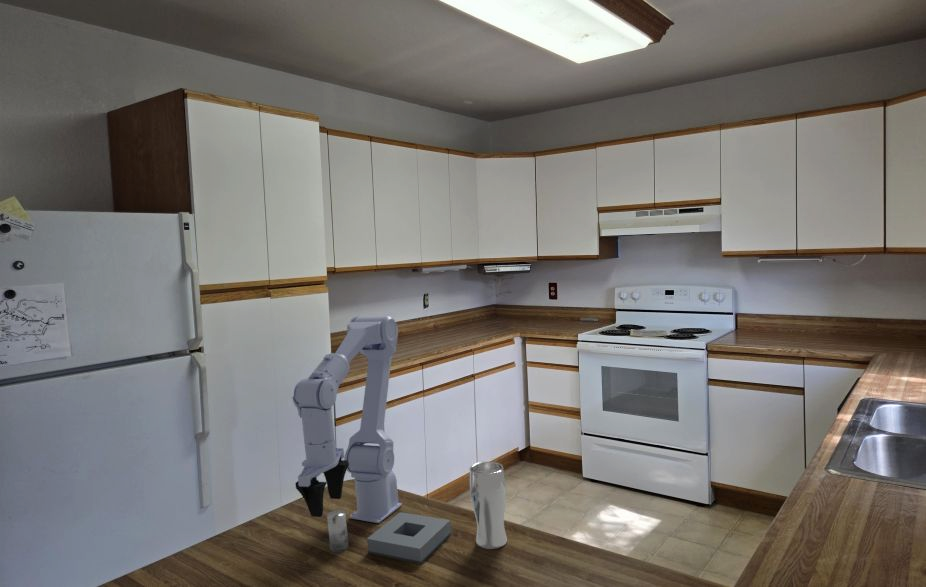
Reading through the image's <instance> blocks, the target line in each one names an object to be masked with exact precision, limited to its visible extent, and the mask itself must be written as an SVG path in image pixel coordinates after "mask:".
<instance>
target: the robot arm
mask: <svg viewBox="0 0 926 587" xmlns="http://www.w3.org/2000/svg"><path fill="white" fill-rule="evenodd" d="M346 326H347V327H346V335H345V337H344V338H343V340H342V342H341V343H340V344H339V346H338V348H337V350H336V351H335V353H334V352H332V353H328V354H327V353H326V354H325V355H324V357H323V359H322V360H321V362H319V364H318V365H317V366H316V368H315V369H314V370H313V371H312V372H311V374H310V375H309V376H308V377H307V378H302V379H301V380H300V381H298V382H297V384H296V385H295V387H294V390H293V396H292V397H291V398H292V402H293V405H294V406H295V407H296V409H297V413H298V417H300V418H301V423H302V424H301V425H302V431H303V440H304V441H303V442H304V449H305V450H304V451H305V452H304V453H305V459H304V460H303V461H302V462H301V466H302V467H303V468H302V471H301V473H299V475H298V476H297V481H296V482H295V489H296V490H297V491H298V492H299V494H300V495H301V496H302V498H303V499H304V503H305V505H306V506H307V508H308V511H309V513H310V516H311V517H315V518H322V516H323V514H324V495H325V494H324V492H325V488H326V487H327V491H328V496H329V499H332V500H340V499H342V494H343V487H344V481H345V480H344V479H345V476H346V473H347V472H348V473H350V477H351V478H352V479H354V486H355V487H354V488H355V497H356V498H355V499H356V509H357V510H356V511H355V512H353V513H351V514H350V515H349V519H353V520H358V521H364V522H368V523H369V522H370V523H374V524H380V523H382V522H383V521H384V520H385V519H386V518H387V517H389V516H390V515H392V514H393V513H394V512H395V511H397V510H398V509H399V508H401V507H402V502H399V494H398V493H399V492H398V483H397V482H398V481H397V476H396V475H395V473H394V471H393V468H394V464H395V454H394V441H393V439H391V437H390V436H389V435H388V434H387V433H385V431H384V427H385V418H386V410H387V409H386V408H387V399H388V393H389V385H390V384H389V381H390V376H391V374H390V372H391V366H392V357H393V356H394V355H396V352H397V345H398V337H399V335H398V334H399V329H398V328H399V327H398V325H397V323H396V321H395V319H394V317H392V316H391V315H386V316H362V317H361V316H353V317H352V318H351V319H350V321H349V323H347V325H346ZM359 353H360V354H361V355H363V356H365V357H366V358H367V360H368V361H367V362H368V363H367V369H366V370H367V371H366V378H365V379H366V380H365V388H364V395H363V404H362V410H361V411H362V412H361V413H362V414H361V420H360V427H359V430H358V431H357V432H355V433H354V434H353V435H352V436H351V437H349V439H348V440H349V442H348V445H347V447H346V448H347V449H346V451H344V447H343V448H341V447H338V448H337V447H336V441H335V440H336V438H335V430H334V429H335V428H334V421H333V420H334V419H333V410H332V407H333V406H334V405H335V403H336V400H337V395H338V393H339V390H340V389H339V386H340V385H341V383H342V382H343V381H344V380H345V379H346V377H347V375H348V374H349V373H350V371H351V366H350V363H351V362H352V360H354V358H356V356H357V355H358V354H359ZM370 444H375V445H370ZM321 474H323V475H324V478H325V481H319V479H318V477H319V476H320V475H321Z"/></svg>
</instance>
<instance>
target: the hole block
mask: <svg viewBox="0 0 926 587" xmlns="http://www.w3.org/2000/svg"><path fill="white" fill-rule="evenodd" d="M451 535H452V526H451V520H450V519H444V518H439V517H432V516H427V515H426V516H425V515H420V514H414V513H407V512H402V511H400V512H398V513H397V514H396V515H395V516H393V517H391V518H390V519H389V520H388V521H387V522H386V523H385V524H383V525H382V526H381V527H379V528H378V529H377V530H376V531H375V532H373V533H372V534H371V535H369V536H368V537H367V538H366V543H367V553H368V555H369V554H370V555H375V556H379V557H385V558H389V559H394V560H399V561H403V562H409V563H413V564H418V565H422V564H423V563H424V562H426V560H427V559H428V558H429V557H430V556H431V555H432V554H433V553H434V552H435V551H436V550H437V549H438V548H439V547H440V546H441V545H442V544H443V543H445V541H446V540H447V539H449V537H450V536H451Z"/></svg>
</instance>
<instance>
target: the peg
mask: <svg viewBox="0 0 926 587" xmlns="http://www.w3.org/2000/svg"><path fill="white" fill-rule="evenodd" d="M346 515H347V514H346V511H345V510H342V509H336V510H332V511H329V512H328V513H327V515H326V517H327V518H326V519H327V528H328V538H329V549H330V551H331V552H332V553H342V552H344V551H346V550H348V549H349V537H348V536H349V535H348V526H347V516H346Z"/></svg>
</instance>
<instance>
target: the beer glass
mask: <svg viewBox="0 0 926 587" xmlns="http://www.w3.org/2000/svg"><path fill="white" fill-rule="evenodd" d="M506 487H507V485H506V478H505V472H504V466H503V464H501V463H499V462H496V461H482V462H481V461H480V462H477V463H475V464H473V465H471V466H470V467H469V491H470V492H469V493H470V499H471V505H472V508H473V512H474V515H475V520H476V538H475V543H476V545H477V547H480V548H482V549H486V550H496V549H499V548H502V547H504V546H505V545H506V544H507V542H508V536H507V533H506V529H505V511H506V498H507V491H506V490H507V488H506Z"/></svg>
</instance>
